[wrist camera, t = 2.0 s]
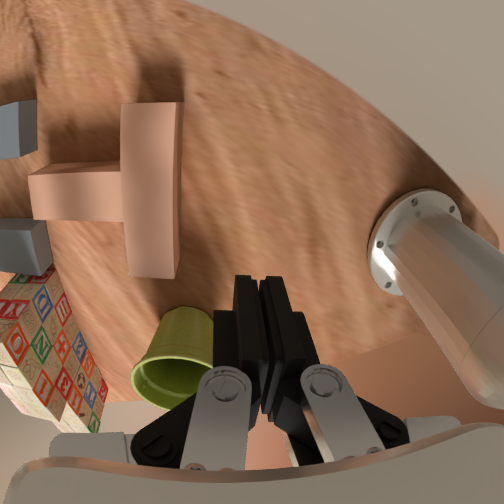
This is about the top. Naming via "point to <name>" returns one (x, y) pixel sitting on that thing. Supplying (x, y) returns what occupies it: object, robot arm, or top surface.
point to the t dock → (21, 229)
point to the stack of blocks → (47, 356)
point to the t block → (126, 188)
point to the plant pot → (175, 358)
